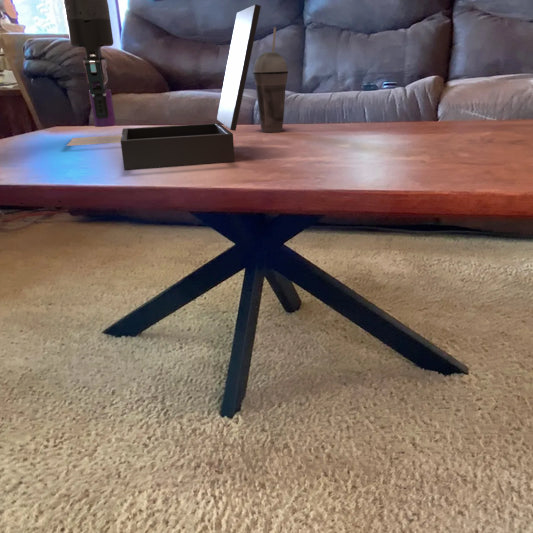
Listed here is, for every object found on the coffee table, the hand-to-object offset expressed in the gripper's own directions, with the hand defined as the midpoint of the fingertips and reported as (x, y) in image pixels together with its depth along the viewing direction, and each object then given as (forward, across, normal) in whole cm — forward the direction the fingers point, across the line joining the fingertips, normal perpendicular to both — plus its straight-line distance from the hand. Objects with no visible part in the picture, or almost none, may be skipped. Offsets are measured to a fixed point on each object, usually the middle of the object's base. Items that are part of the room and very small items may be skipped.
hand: (103, 116), depth 98 cm
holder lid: (-8, +26, +21) cm, 35 cm away
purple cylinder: (+2, 0, 0) cm, 2 cm away
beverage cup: (+5, -2, +34) cm, 34 cm away
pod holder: (+5, +26, +12) cm, 29 cm away
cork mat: (+5, 0, 0) cm, 5 cm away
